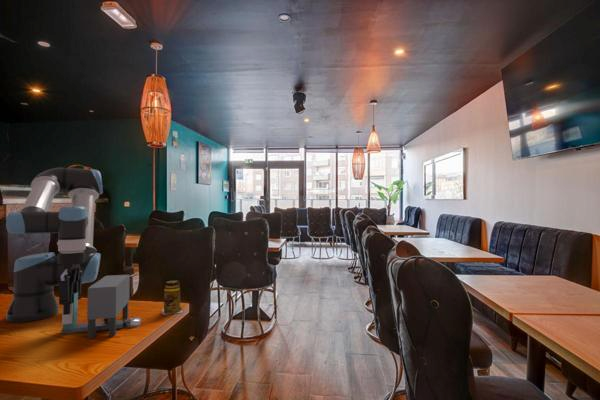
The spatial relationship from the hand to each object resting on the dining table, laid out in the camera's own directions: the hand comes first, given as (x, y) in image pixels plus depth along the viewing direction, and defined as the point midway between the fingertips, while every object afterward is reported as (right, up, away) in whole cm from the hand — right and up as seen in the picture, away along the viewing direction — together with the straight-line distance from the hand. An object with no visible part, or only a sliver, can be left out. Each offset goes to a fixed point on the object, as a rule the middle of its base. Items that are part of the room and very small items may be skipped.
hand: (69, 321), depth 103 cm
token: (+18, -4, +6) cm, 19 cm away
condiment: (+26, -4, +21) cm, 33 cm away
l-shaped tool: (+7, -3, +2) cm, 8 cm away
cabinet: (+11, -3, +4) cm, 12 cm away
